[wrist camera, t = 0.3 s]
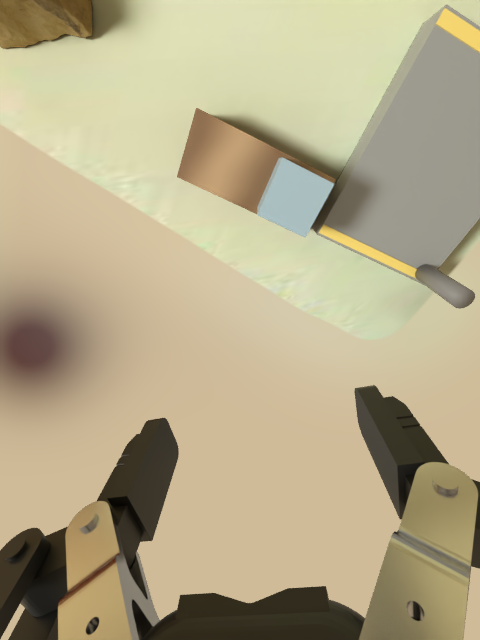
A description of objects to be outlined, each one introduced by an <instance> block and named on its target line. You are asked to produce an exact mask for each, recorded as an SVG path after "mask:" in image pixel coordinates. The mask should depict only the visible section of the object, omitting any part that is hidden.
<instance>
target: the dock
mask: <svg viewBox="0 0 480 640" xmlns="http://www.w3.org/2000/svg"><path fill="white" fill-rule="evenodd" d="M479 219H480V27H479V26H478V25H476V24H475V23H473V22H472V21H470V20H469V19H467V18H466V17H464V16H463V15H461V14H460V13H458V12H457V11H455V10H454V9H452V8H451V7H449V6H448V5H445V6H444V7H443V8H442V9H440V10H439V11H438V12H437V13H436V14H434V15H433V16H432V17H431V18H429V19H428V20H427V21H426V22H424V23H423V24H422V26H421V28H420V30H419V32H418V34H417V35H416V37H415V39H414V41H413V43H412V45H411V46H410V48H409V50H408V52H407V54H406V56H405V58H404V59H403V61H402V63H401V65H400V67H399V69H398V70H397V72H396V74H395V76H394V78H393V80H392V81H391V83H390V85H389V87H388V89H387V91H386V92H385V94H384V96H383V98H382V100H381V102H380V103H379V105H378V107H377V109H376V111H375V113H374V114H373V116H372V118H371V120H370V122H369V124H368V125H367V127H366V129H365V131H364V133H363V135H362V137H361V138H360V140H359V142H358V144H357V146H356V148H355V149H354V151H353V153H352V155H351V157H350V159H349V160H348V162H347V164H346V166H345V168H344V170H343V171H342V173H341V175H340V177H339V179H338V181H337V182H336V184H335V186H334V188H333V190H332V192H331V193H330V195H329V197H328V199H327V201H326V203H325V204H324V206H323V208H322V210H321V212H320V214H319V216H318V217H317V219H316V221H315V223H314V225H313V227H312V229H313V230H314V231H315V232H316V233H317V235H319V236H321V237H324V238H326V239H328V240H330V241H332V242H334V243H336V244H338V245H341V246H343V247H345V248H347V249H349V250H351V251H353V252H355V253H358V254H360V255H362V256H364V257H366V258H368V259H370V260H372V261H375V262H377V263H379V264H381V265H383V266H385V267H387V268H389V269H392V270H394V271H396V272H398V273H400V274H402V275H404V276H406V277H409V278H411V279H413V280H415V281H417V282H419V283H421V284H423V285H426V286H427V287H428V288H430V289H431V290H433V291H434V292H435V293H437V294H438V295H439V296H441V297H442V298H443V299H445V300H446V301H447V302H449V303H450V304H451V305H453V306H454V307H456V308H464V307H467V306H468V305H470V304H471V303H472V302H473V300H474V298H475V294H474V292H473V291H472V290H470V289H468V288H467V287H465V286H463V285H462V284H460V283H458V282H457V281H455V280H454V279H452V278H450V277H449V276H447V275H445V274H444V273H442V272H440V271H439V270H438V268H439V267H440V266H441V265H442V264H443V262H444V261H445V260H446V259H447V257H448V256H449V255H450V254H451V253H452V251H453V250H454V249H455V248H456V247H457V245H458V244H459V243H460V242H461V241H462V239H463V238H464V237H465V236H466V234H467V233H468V232H469V231H470V230H471V228H472V227H473V226H474V225H475V224H476V222H477V221H478V220H479Z"/></svg>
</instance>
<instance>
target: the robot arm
mask: <svg viewBox="0 0 480 640" xmlns="http://www.w3.org/2000/svg"><path fill="white" fill-rule="evenodd" d="M355 399H356V408H357V417H358V423H359V427H360V430H361V433H362V436H363V438H364V440H365V442H366V444H367V447H368V449H369V451H370V453H371V456H372V458H373V460H374V462H375V465H376V467H377V469H378V471H379V474H380V475H381V478H382V480H383V482H384V485H385V487H386V489H387V491H388V493H389V496H390V498H391V500H392V503H393V505H394V507H395V509H396V511H397V514H398V516H399V518H400V519H402V520H401V524H400V527H399V530H398V532H394V533H393V535H392V536H391V539H390V541H389V544H388V548H387V551H386V554H385V557H384V561H383V564H382V567H381V570H380V573H379V576H378V579H377V583H376V586H375V589H374V592H373V596H372V599H371V602H370V605H369V608H368V611H367V615H366V618H364V617H362V616H361V615H360V614H358V613H357V612H355V611H354V610H352V609H350V608H349V607H347V606H345V605H342V604H340V603H338V602H335V601H331V600H329V598H328V594H327V590H326V586H322V587H307V588H306V587H305V588H289V589H286V590H283V591H281V592H278V593H276V594H273V595H271V596H269V597H266V598H264V599H262V600H259V601H256V602H254V603H245V602H241V601H238V600H235V599H232V598H228V597H225V596H222V595H219V594H216V593H208V594H207V593H206V594H190V595H180V599H179V604H178V609H177V610H176V611H174V612H172V613H171V614H169V615H167V616H166V617H164V618H163V619H162V620H159V618H158V616H157V613H156V611H155V608H154V605H153V602H152V599H151V596H150V592H149V589H148V585H147V581H146V578H145V574H144V571H143V567H142V564H141V560H140V557H139V554H138V552H137V549H138V546H139V543H140V542H142V541H152V540H153V536H154V533H155V530H156V527H157V524H158V520H159V517H160V514H161V511H162V508H163V504H164V501H165V498H166V495H167V492H168V488H169V485H170V482H171V479H172V476H173V472H174V469H175V466H176V463H177V459H178V445H177V442H176V440H175V437H174V435H173V433H172V430H171V428H170V426H169V423H168V421H167V419H165V418H160V419H154V420H148V421H147V422H146V423H145V425H144V427H143V429H142V431H141V433H140V434H137V435H136V436H135V437H134V438H133V439H132V440H131V441H130V442H129V443H128V444H127V446H126V448H125V449H124V451H123V453H122V456H121V458H120V459H119V461H118V463H117V466H116V467H115V468H114V470H113V472H112V474H111V475H110V478H109V479H108V481H107V483H106V485H105V486H104V489H103V490H102V493H101V494H100V496H99V498H98V500H97V501H96V502H93V503H91V504H89V505H87V506H86V507H84V508H83V509H82V510H81V511H79V512H78V513H77V514H76V515H75V517H74V518H73V519H72V521H71V522H70V524H69V526H68V527H66V528H64V529H61V530H59V531H57V532H54V533H52V534H50V535H47V536H44V534H43V533H42V532H41V530H40V529H38V528H31V529H27V530H25V531H23V532H21V533H20V534H18V535H16V537H14V538H13V539H11V541H9V542H8V543H7V544H6V545H5V546H4V547H3V548H2V549H1V551H0V639H1V636H2V635H3V633H4V631H5V629H6V628H7V626H8V624H9V622H10V620H11V618H12V617H13V615H14V613H15V611H16V610H17V608H18V606H19V604H20V603H21V604H22V605H23V606H24V607H25V610H24V611H23V613H22V615H21V617H20V619H19V621H18V623H17V625H16V626H15V628H14V630H13V632H12V634H11V636H10V638H9V639H8V640H463V638H464V628H465V619H466V609H467V600H468V590H469V582H470V572H471V566H472V567H476V568H480V482H478V481H475V480H472V479H471V478H470V477H469V476H468V475H467V474H465V473H464V472H463V471H461V470H459V469H458V468H456V467H454V466H451V465H449V463H448V462H447V461H446V460H445V458H444V457H443V456H442V454H441V453H440V451H439V450H438V449H437V447H436V446H435V445H434V443H433V442H432V440H431V439H430V438H429V436H428V435H427V434H426V432H425V431H424V429H423V428H422V427H421V426H420V424H419V423H418V421H417V420H416V418H415V417H413V414H412V413H411V412H410V410H409V409H408V407H407V406H406V405H405V404H404V403H402V402H401V401H399V400H398V399H396V398H395V397H393V396H392V397H386V398H383V396H382V395H381V393H380V392H379V390H378V389H377V387H376V386H374V385H373V386H367V387H360V388H355Z"/></svg>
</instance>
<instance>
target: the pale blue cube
mask: <svg viewBox="0 0 480 640" xmlns="http://www.w3.org/2000/svg"><path fill="white" fill-rule="evenodd" d="M333 186H334V183H332V182H330V181H328V180H326V179H324V178H322V177H320V176H318V175H316V174H314V173H312V172H310V171H308V170H306V169H304V168H302V167H300V166H298V165H296V164H295V163H293V162H291V161H289V160H287V159H285V158H279V159H278V161H277V163H276V165H275V168H274V170H273V172H272V175H271V177H270V179H269V182H268V184H267V186H266V188H265V191H264V193H263V195H262V198H261V200H260V202H259V204H258V207H257V215H258V216H260V217H262V218H264V219H267V220H269V221H271V222H273V223H275V224H277V225H279V226H282V227H284V228H286V229H288V230H290V231H292V232H294V233H296V234H299V235H301V236H303V237H306V236H307V234H308V232H309V230H310V228H311V226H312V225H313V223H314V221H315V219H316V217H317V215H318V214H319V212H320V210H321V208H322V206H323V204H324V203H325V201H326V199H327V197H328V195H329V193H330V192H331V190H332V188H333Z"/></svg>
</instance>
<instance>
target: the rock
mask: <svg viewBox="0 0 480 640" xmlns="http://www.w3.org/2000/svg"><path fill="white" fill-rule="evenodd" d="M64 34H70V35H73V36H78V37H82V38H85V37H87V36H91V35H92V6H91V0H0V46H1V47H2V48H3V49H6V48H9V47H26V46H27V45H33V44H36V43H37V42H38V41H43V40H48V41H51V40H53V39H56V38H58V37H59V36H61V35H64Z"/></svg>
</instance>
